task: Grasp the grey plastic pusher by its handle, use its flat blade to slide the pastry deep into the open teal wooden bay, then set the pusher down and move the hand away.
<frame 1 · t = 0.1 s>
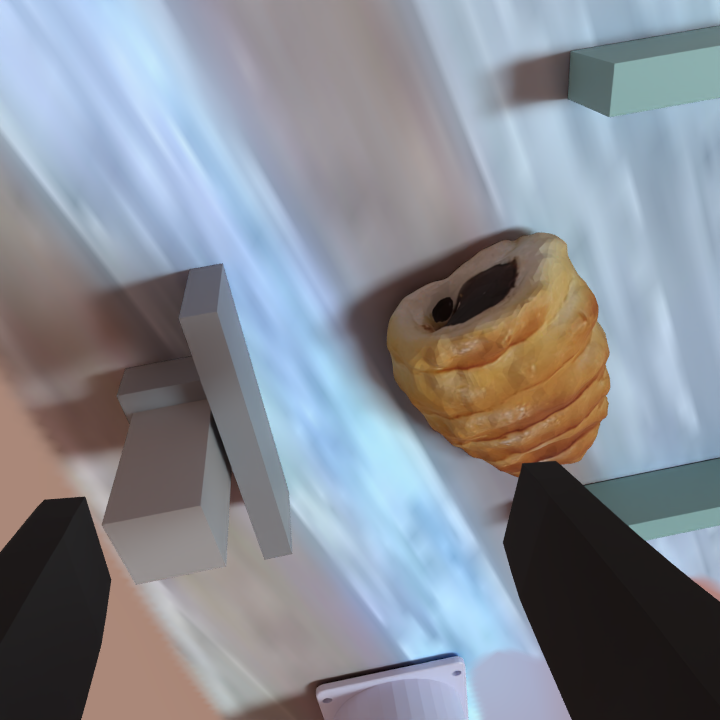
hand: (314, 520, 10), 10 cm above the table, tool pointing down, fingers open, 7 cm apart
bay: (715, 307, 21), on the table
pusher: (203, 404, 21), on the table
pastry: (496, 339, 21), on the table
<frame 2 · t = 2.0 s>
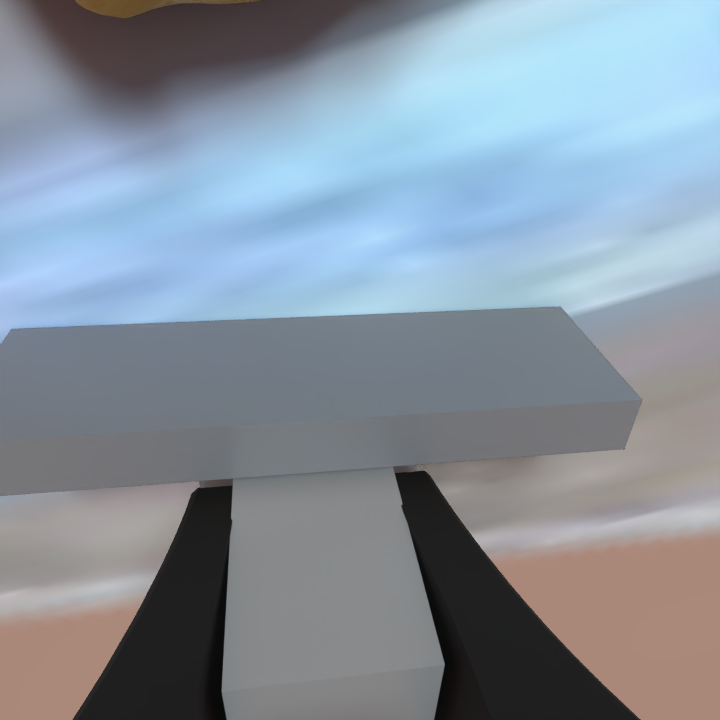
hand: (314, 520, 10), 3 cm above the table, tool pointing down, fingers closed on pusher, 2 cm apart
pusher: (304, 404, 12), on the table, touching gripper
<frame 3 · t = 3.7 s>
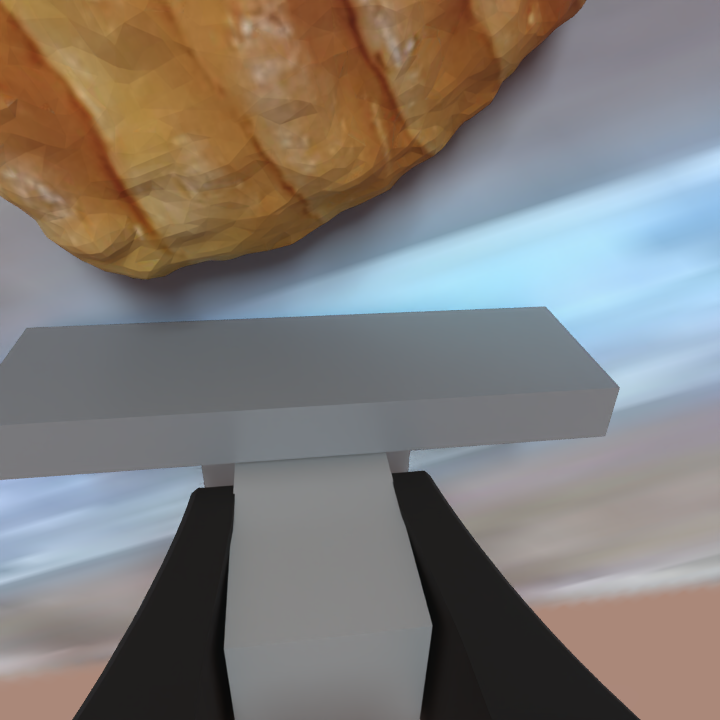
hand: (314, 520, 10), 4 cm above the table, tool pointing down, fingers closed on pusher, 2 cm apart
pusher: (303, 401, 13), on the table, touching gripper
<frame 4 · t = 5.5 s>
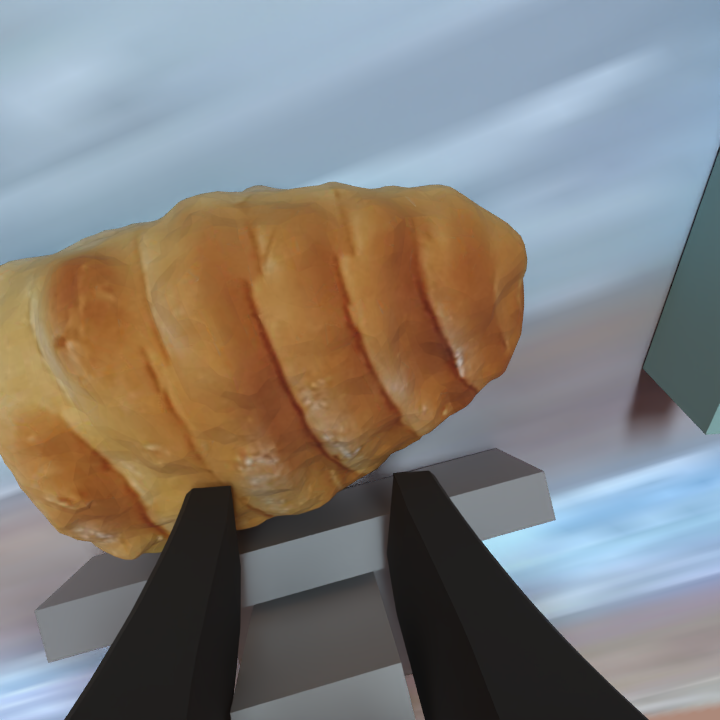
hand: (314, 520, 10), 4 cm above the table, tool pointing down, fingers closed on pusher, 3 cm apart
bay: (294, 88, 10), on the table
pusher: (320, 580, 14), point 1 cm above the table, tilted 33°, touching gripper
pastry: (248, 319, 12), on the table
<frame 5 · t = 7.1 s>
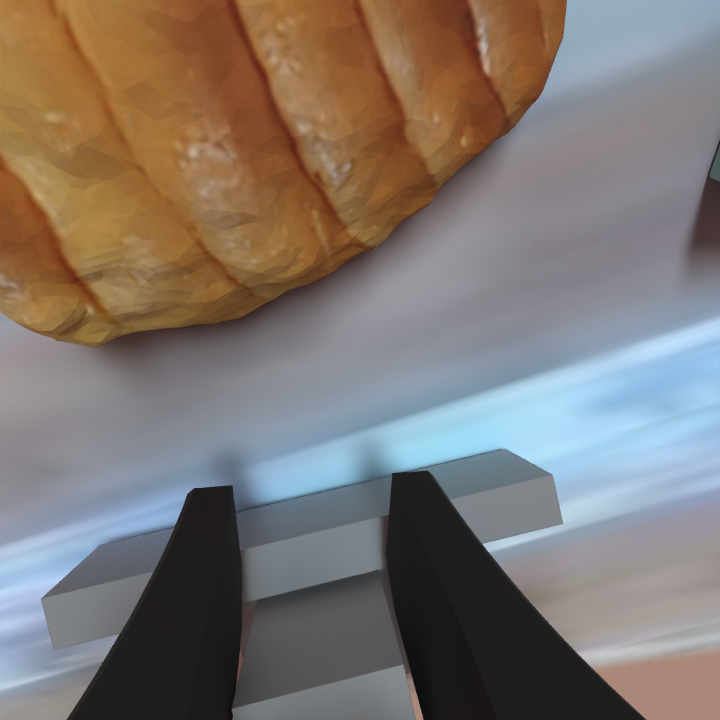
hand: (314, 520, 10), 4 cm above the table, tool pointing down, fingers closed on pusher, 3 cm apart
pusher: (325, 575, 14), point 1 cm above the table, tilted 32°, touching gripper
pastry: (208, 61, 10), on the table
when the fingers open (3 cm above the table, at t = 8.2 s): pusher drops 1 cm, on the table.
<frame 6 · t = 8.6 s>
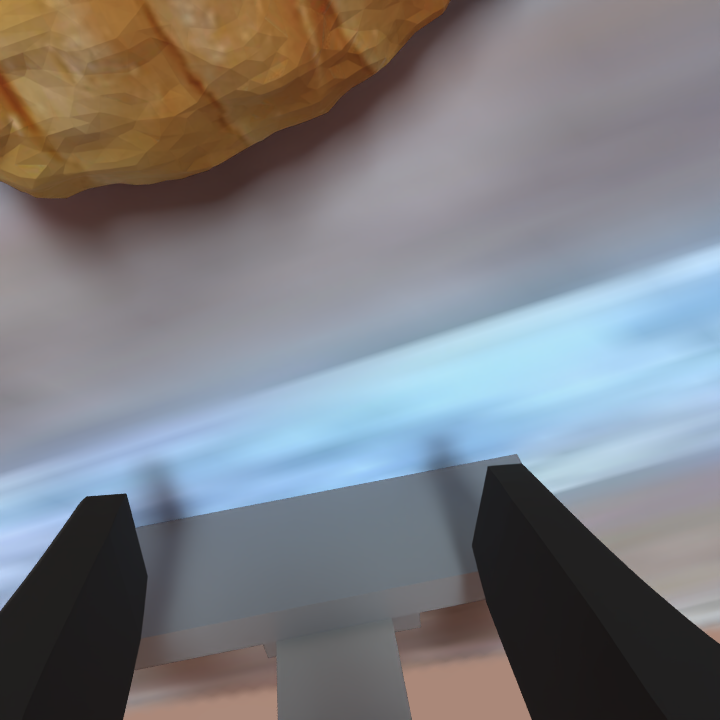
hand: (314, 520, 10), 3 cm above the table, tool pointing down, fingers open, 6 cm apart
pusher: (327, 545, 15), on the table
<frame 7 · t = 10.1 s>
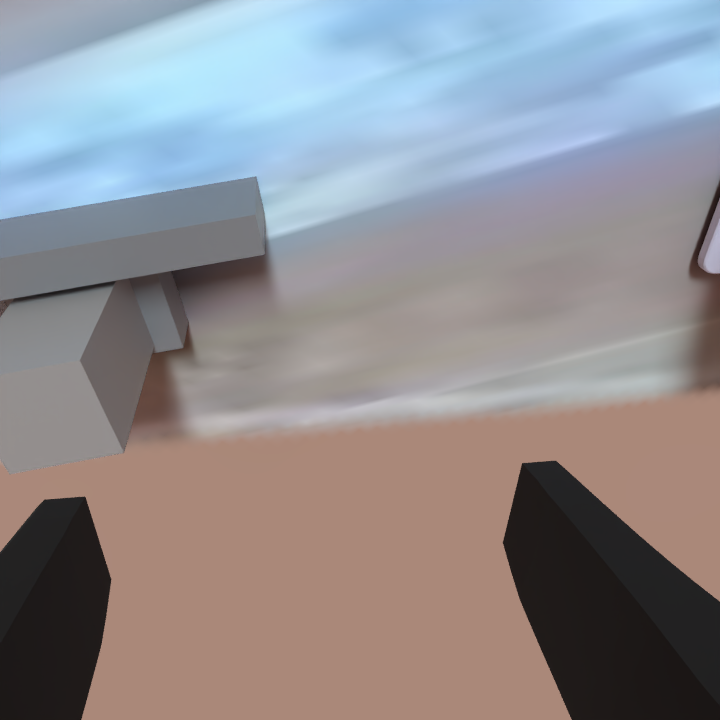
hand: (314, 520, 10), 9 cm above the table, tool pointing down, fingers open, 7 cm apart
pusher: (98, 274, 17), on the table
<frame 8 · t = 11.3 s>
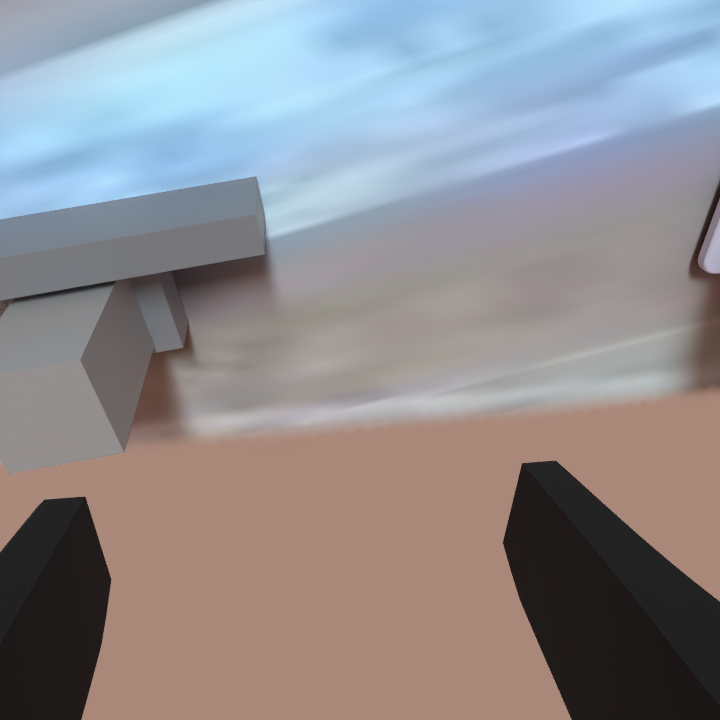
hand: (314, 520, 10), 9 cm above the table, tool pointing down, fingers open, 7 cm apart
pusher: (98, 274, 17), on the table
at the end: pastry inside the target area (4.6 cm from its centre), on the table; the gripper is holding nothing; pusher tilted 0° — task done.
